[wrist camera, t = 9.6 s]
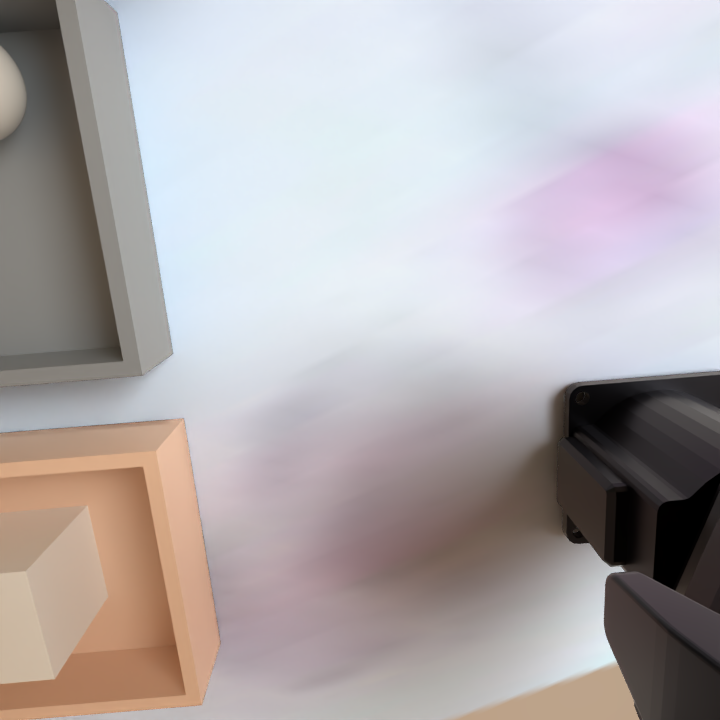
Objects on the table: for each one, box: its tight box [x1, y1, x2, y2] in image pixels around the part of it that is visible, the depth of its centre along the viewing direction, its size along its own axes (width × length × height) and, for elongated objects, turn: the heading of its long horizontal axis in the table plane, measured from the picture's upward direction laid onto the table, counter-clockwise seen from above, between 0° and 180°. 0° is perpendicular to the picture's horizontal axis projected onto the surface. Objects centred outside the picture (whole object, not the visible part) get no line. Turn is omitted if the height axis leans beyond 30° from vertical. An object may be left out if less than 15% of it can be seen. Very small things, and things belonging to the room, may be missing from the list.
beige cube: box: [0, 505, 108, 684], centre depth 19 cm, size 4×4×4 cm
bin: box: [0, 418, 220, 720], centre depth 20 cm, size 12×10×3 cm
